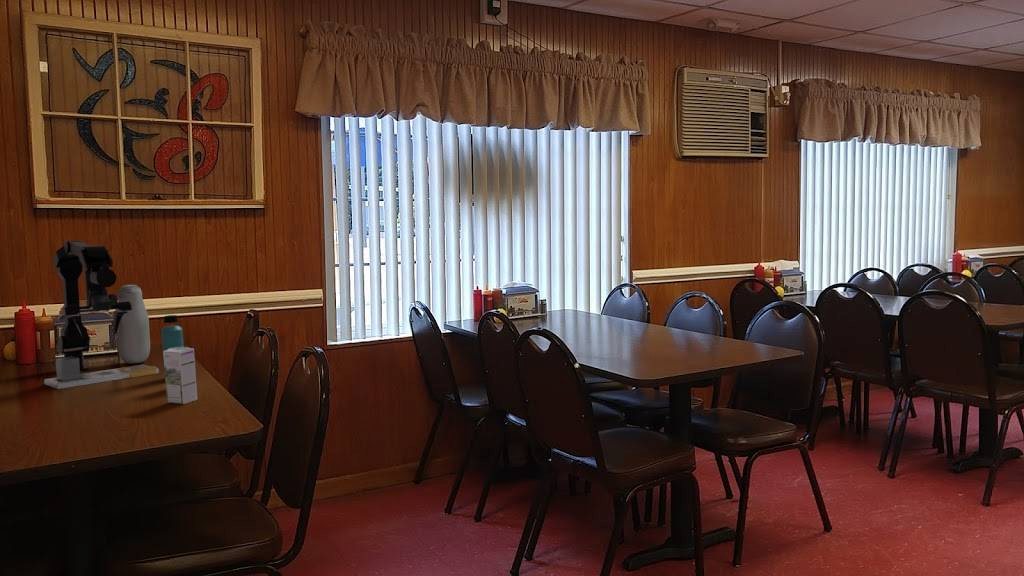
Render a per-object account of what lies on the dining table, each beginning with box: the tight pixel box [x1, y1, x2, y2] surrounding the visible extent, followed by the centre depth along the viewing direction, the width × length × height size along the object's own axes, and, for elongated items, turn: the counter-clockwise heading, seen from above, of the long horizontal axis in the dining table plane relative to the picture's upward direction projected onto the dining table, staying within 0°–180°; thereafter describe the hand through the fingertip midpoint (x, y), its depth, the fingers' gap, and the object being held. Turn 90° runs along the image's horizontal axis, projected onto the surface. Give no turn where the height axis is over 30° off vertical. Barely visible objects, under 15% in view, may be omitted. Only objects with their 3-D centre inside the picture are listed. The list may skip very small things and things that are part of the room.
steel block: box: [55, 357, 81, 382], centre depth 239 cm, size 5×5×8 cm
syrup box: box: [162, 347, 198, 405], centre depth 209 cm, size 6×6×14 cm
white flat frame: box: [44, 364, 160, 390], centre depth 246 cm, size 13×30×2 cm, turn 138°
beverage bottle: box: [160, 314, 185, 375], centre depth 243 cm, size 6×7×20 cm
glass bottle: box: [116, 284, 151, 365], centre depth 272 cm, size 10×10×28 cm
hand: (99, 335), depth 243 cm, fingers open, 9 cm apart
